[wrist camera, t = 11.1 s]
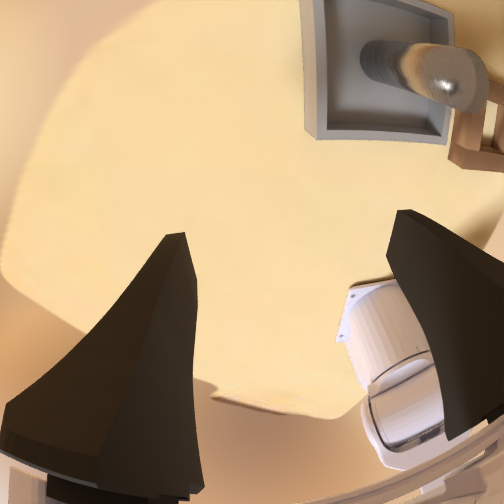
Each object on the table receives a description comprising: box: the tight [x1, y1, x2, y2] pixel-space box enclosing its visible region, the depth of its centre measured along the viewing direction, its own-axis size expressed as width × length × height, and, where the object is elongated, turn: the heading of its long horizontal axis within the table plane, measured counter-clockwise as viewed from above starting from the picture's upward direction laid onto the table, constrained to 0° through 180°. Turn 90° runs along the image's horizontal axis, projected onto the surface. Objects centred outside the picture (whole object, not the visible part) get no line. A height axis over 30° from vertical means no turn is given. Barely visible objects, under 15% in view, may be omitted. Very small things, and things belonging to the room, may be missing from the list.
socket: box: [448, 80, 504, 173], centre depth 15 cm, size 8×8×2 cm
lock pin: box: [360, 40, 489, 114], centre depth 10 cm, size 3×3×8 cm
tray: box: [299, 0, 455, 145], centre depth 13 cm, size 10×10×2 cm
